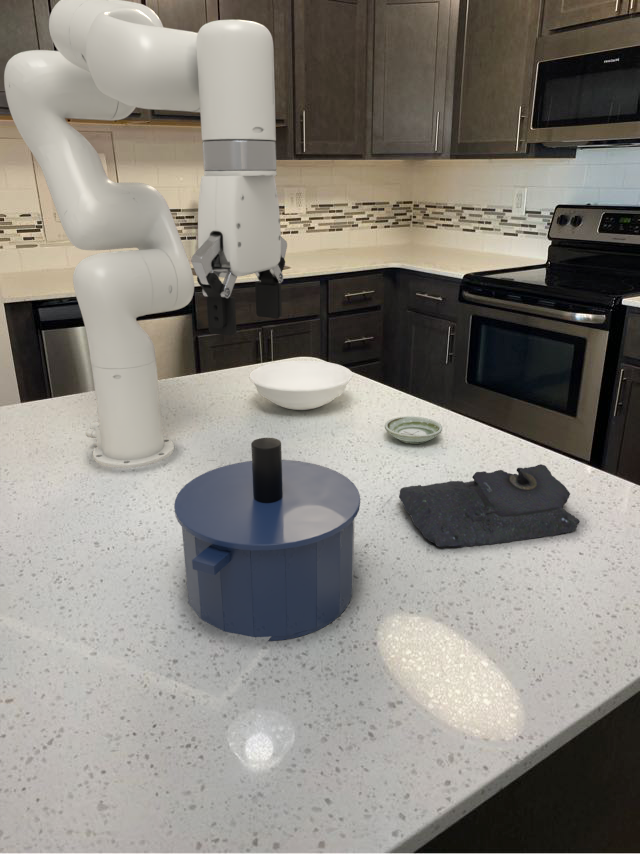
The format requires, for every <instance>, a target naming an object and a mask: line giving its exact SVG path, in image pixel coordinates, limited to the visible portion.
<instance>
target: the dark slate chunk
mask: <svg viewBox="0 0 640 854" xmlns="http://www.w3.org/2000/svg"><path fill="white" fill-rule="evenodd" d="M516 472H517V473H510V472H507V471H504V470H503V469H497V470H494V471H491V472H487V471H475V473H474V474H473V475H472V479H473V480H472V481H471V480H470V481H466V482H465V481H463V480H449V481H445V482H440V483H439V482H438V483H431V484H427V485H421V484H417V485H409V486H404V487H402V488H400V489H399V494H398V498H399V501H400V502H401V503H402V505H403V508H404V510H405V511H406V512H407V514H409V516H410V517H411V520H412V522H413V524H414V526H415V527H416V528H417V529H418V530H419V532H420V533H421V534H422V536H423V538H425V539H427V540H428V541H429V542H430V543H432V544H435V545H436V547H443V548H444V547H459V548H464V547H474V546H482V545H490V546H491V545H495V544H499V543H501V544H503V543H510V542H516V541H523V540H524V541H525V540H530V539H537V538H541V537H543V538H544V537H548V536H556V535H557V536H558V535H561V534H567V533H571V532H574V531H575V530H576V529H577V528H578V524H579V523H580V522H581V521H580V518H577V517H575V515H573V514H571V513H570V512H569V511H567V510H566V509H564V506H565V505H567V502H568V500H569V498H570V495H571V492H570V491H569V490H568V488H567V487H566V486H565V484H564V483H562V482H561V481H560V480H558V479H557V478H556V477H555V476H554V475H553V474H552V472H551V471H550V470H549V469H548V466H546V465H545V464H537V465H533V466H528V467H517V468H516Z"/></svg>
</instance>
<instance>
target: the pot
mask: <svg viewBox="0 0 640 854" xmlns="http://www.w3.org/2000/svg"><path fill="white" fill-rule="evenodd" d="M181 534H182V545H183V556H184V568H185V569H184V570H185V579H186V589H187V598H188V600H187V601H188V605H189V606H190V607H191V608H192V610H193V611H194V612H195V613H196V615H197V616H198V617H199V619H200V620H201V621H203V622H205V623H207V624H209V625H210V626H212V627H215V628H217V629H219V630H221V631H222V632H224V633H230V634H235V635H241V636H246V637H251V638H268V637H269V639H268V640H267V642H275V641H285V640H291V639H296V638H299V637H302V636H306V635H309V634H311V633H314V632H317V631H319V630H321V629H322V628H324V627H325V628H326V626H328V625H330V624H331V623H333V622H334V621H335V620H336V619H337V618H339V617H340V616H341V615H342V614H343V612H344V611H346V609H347V607H348V606H349V604H350V602H351V599H352V596H353V590H354V589H353V587H354V566H355V563H354V562H355V561H354V560H355V519H354V520H353V521H352V522H351V523H350V524H349V525H348V526H347V527H345V528H344V529H343V530H341V531H340V532H338V533H336V534H334V535H332V536H330V537H328V538H326V539H323V540H321V541H318V542H314V543H311V544H308V545H304V546H299V547H294V548H287V549H279V550H241V549H234V548H227V547H223V546H218V545H215V544H211V543H208V542H205V541H203V540H201V539H199V538H196V537H195V536H193V535H191V534H190V533H188V532H187V531H186V530H185V529H184V528H183V527H182V526H181Z"/></svg>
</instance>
